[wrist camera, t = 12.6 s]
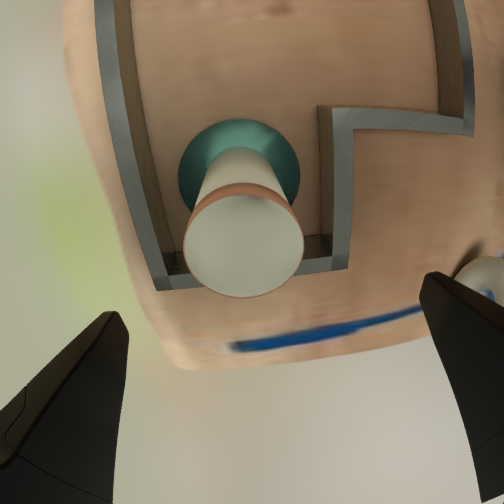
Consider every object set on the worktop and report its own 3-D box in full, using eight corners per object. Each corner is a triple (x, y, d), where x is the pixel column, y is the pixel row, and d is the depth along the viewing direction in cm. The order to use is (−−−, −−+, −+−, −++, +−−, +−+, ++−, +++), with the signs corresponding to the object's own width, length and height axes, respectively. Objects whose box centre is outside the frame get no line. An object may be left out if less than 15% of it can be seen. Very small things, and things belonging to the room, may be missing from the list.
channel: (406, -94, 5) (422, -104, 2) (435, 233, 22) (453, 251, 19) (115, -95, 5) (103, -110, 2) (164, 267, 22) (156, 291, 19)
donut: (442, 312, 27) (482, 376, 19) (425, 309, 27) (467, 378, 18) (488, 242, 23) (545, 299, 14) (474, 233, 22) (536, 293, 13)
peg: (271, 141, 17) (302, 186, 9) (276, 206, 19) (304, 290, 12) (199, 150, 17) (170, 203, 9) (210, 214, 19) (197, 303, 12)
